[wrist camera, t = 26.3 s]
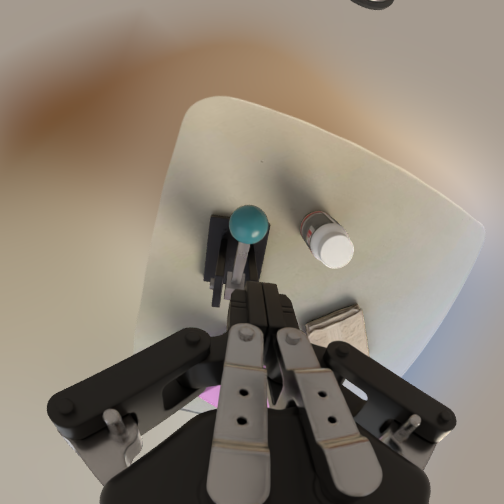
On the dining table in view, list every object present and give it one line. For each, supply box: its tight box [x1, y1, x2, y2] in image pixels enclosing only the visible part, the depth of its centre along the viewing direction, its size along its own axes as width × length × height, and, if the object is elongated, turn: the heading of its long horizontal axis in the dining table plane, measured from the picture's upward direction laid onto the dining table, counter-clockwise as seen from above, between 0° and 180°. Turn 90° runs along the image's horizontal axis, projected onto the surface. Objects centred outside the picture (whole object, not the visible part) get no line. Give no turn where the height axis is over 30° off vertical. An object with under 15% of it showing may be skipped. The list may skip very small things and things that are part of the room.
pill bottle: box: [300, 211, 354, 268], centre depth 38 cm, size 6×6×10 cm
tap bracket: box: [204, 215, 270, 307], centre depth 38 cm, size 11×9×13 cm
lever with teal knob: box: [224, 205, 268, 300], centre depth 29 cm, size 14×4×4 cm, turn 170°
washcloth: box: [306, 304, 370, 357], centre depth 51 cm, size 12×18×3 cm, turn 23°
